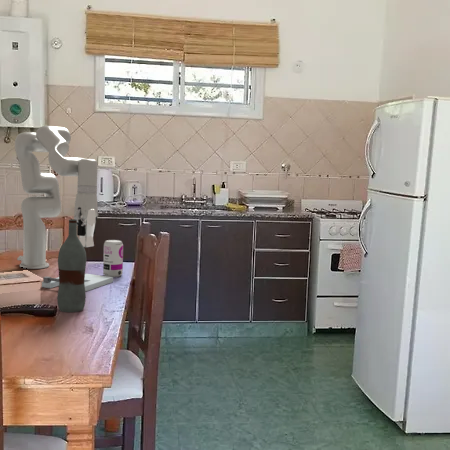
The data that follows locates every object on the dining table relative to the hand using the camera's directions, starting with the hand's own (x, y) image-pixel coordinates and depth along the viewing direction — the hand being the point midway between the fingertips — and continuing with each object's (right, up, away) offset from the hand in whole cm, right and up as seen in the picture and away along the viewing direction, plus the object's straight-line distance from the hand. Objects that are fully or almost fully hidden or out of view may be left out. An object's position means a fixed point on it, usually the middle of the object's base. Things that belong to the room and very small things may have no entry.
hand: (86, 234), depth 223 cm
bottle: (+4, -24, -38) cm, 45 cm away
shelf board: (-2, -20, -2) cm, 20 cm away
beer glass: (0, -5, +1) cm, 5 cm away
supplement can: (+7, -18, +18) cm, 26 cm away
